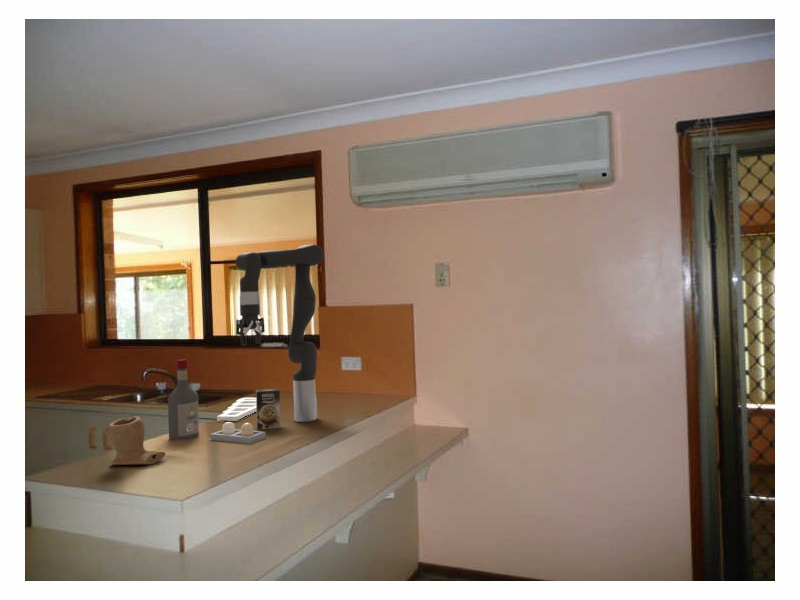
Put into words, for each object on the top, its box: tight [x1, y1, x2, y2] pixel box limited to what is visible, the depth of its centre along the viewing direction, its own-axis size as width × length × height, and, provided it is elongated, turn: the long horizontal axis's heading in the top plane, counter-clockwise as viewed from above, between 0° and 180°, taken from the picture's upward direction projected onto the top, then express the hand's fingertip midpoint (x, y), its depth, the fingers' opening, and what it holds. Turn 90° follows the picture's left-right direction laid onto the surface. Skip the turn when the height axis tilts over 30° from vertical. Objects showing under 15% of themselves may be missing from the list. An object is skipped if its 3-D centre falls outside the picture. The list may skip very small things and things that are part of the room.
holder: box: [216, 397, 256, 422], centre depth 267 cm, size 45×18×3 cm, turn 170°
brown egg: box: [240, 422, 255, 437], centre depth 205 cm, size 4×4×6 cm
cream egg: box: [221, 422, 236, 435], centre depth 208 cm, size 4×4×6 cm
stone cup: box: [107, 415, 166, 466], centre depth 182 cm, size 15×12×15 cm
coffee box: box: [255, 388, 281, 431], centre depth 224 cm, size 9×6×16 cm
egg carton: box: [208, 428, 268, 445], centre depth 206 cm, size 10×19×4 cm, turn 66°
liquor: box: [167, 359, 200, 441], centre depth 212 cm, size 9×9×30 cm
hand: (251, 344), depth 223 cm, fingers open, 8 cm apart
